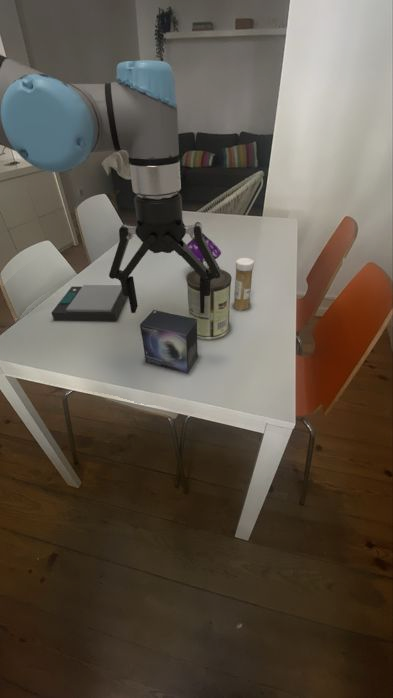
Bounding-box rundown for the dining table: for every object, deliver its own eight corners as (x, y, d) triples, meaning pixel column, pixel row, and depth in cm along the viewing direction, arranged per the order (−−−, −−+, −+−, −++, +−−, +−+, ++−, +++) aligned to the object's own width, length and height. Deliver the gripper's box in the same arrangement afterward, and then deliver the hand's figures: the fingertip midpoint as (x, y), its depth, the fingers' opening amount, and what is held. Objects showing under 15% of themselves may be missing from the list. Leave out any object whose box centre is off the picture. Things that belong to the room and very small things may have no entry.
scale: (53, 320, 85) (50, 310, 83) (73, 293, 97) (70, 283, 95) (116, 321, 84) (114, 310, 82) (128, 294, 96) (127, 284, 94)
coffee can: (198, 314, 86) (197, 264, 78) (234, 322, 83) (237, 271, 74) (181, 334, 79) (178, 282, 70) (219, 344, 76) (221, 290, 67)
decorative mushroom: (186, 270, 109) (185, 225, 100) (222, 272, 107) (224, 227, 98) (177, 286, 99) (174, 238, 90) (217, 289, 97) (218, 241, 88)
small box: (143, 363, 70) (137, 324, 64) (157, 346, 75) (152, 308, 69) (187, 375, 67) (185, 334, 61) (198, 356, 72) (198, 317, 65)
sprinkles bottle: (250, 310, 87) (255, 263, 79) (234, 311, 87) (237, 264, 79) (247, 302, 91) (252, 256, 83) (232, 302, 91) (234, 257, 83)
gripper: (235, 186, 52) (230, 300, 65) (87, 189, 54) (111, 300, 67) (238, 197, 46) (232, 320, 59) (71, 200, 48) (101, 319, 61)
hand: (168, 309), depth 63 cm, fingers open, 13 cm apart
